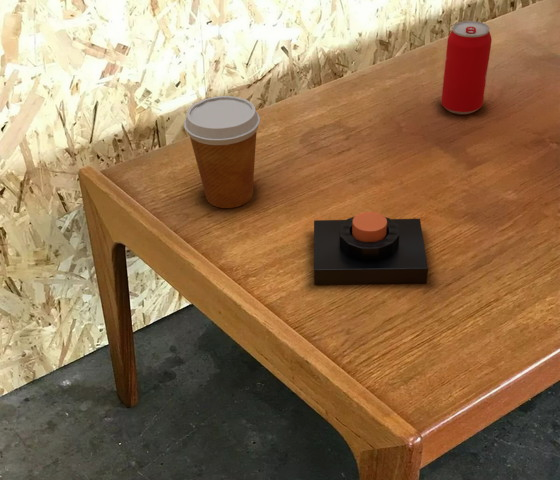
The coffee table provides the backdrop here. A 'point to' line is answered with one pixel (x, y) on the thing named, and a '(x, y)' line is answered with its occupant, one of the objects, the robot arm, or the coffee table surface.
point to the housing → (369, 254)
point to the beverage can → (466, 67)
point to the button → (369, 227)
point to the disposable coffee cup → (224, 147)
